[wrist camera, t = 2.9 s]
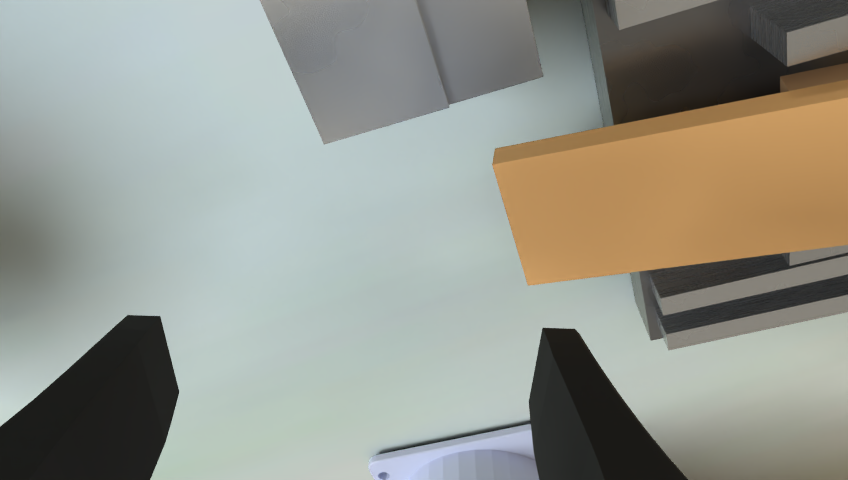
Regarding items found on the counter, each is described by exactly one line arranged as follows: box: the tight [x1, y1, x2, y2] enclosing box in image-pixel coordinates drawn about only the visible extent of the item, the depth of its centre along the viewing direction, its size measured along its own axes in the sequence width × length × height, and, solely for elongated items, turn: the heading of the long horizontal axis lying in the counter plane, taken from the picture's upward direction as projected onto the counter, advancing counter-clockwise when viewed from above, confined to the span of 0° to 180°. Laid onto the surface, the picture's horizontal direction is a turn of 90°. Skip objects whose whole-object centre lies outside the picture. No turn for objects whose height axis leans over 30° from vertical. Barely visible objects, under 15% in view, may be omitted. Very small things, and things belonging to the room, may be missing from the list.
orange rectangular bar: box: [492, 63, 848, 285], centre depth 16 cm, size 4×16×2 cm, turn 108°
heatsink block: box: [581, 0, 848, 350], centre depth 18 cm, size 14×10×4 cm
